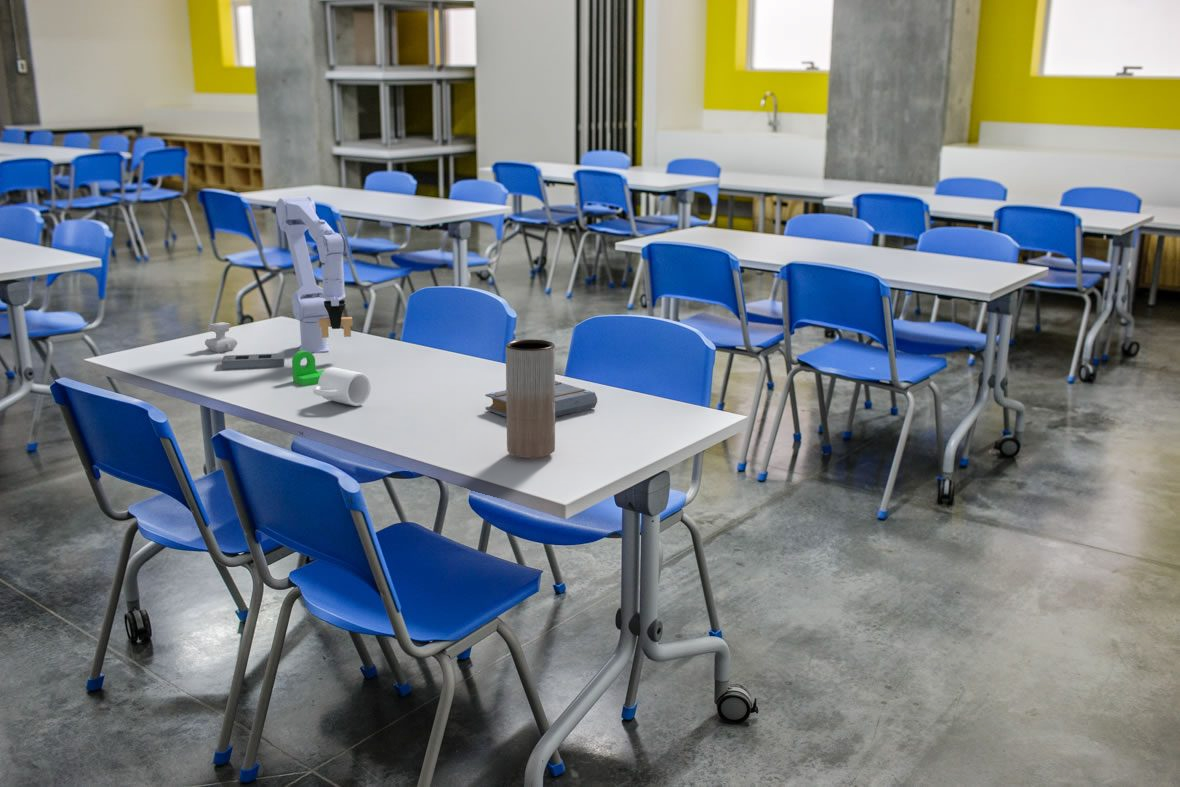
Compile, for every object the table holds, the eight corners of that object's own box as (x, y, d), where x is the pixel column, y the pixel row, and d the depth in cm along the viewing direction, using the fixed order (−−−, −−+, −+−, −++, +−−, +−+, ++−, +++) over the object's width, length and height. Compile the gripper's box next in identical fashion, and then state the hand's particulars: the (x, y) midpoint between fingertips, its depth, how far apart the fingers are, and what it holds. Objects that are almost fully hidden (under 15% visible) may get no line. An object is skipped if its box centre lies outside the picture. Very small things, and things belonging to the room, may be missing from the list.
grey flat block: (224, 364, 304) (223, 355, 304) (284, 361, 308) (284, 353, 307) (222, 370, 298) (221, 361, 297) (284, 367, 301) (283, 358, 301)
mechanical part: (303, 386, 283) (301, 355, 280) (293, 382, 287) (291, 351, 285) (346, 379, 290) (344, 349, 288) (335, 375, 294) (333, 345, 292)
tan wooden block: (319, 335, 306) (318, 318, 305) (352, 334, 309) (351, 316, 307) (319, 337, 304) (318, 319, 303) (353, 336, 306) (352, 318, 305)
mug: (343, 395, 273) (341, 364, 271) (371, 402, 268) (370, 370, 266) (305, 406, 264) (303, 373, 262) (334, 412, 258) (332, 379, 256)
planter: (516, 441, 237) (515, 337, 231) (561, 446, 234) (561, 341, 229) (499, 455, 228) (498, 347, 222) (545, 460, 225) (545, 351, 219)
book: (527, 426, 251) (527, 404, 249) (484, 410, 262) (484, 390, 261) (597, 410, 264) (597, 389, 263) (553, 396, 276) (553, 376, 275)
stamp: (203, 351, 320) (200, 323, 318) (223, 348, 325) (221, 319, 323) (219, 356, 314) (217, 327, 312) (240, 352, 319) (238, 324, 317)
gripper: (317, 274, 308) (320, 322, 311) (318, 283, 294) (321, 333, 298) (343, 274, 310) (345, 321, 313) (345, 282, 296) (348, 332, 300)
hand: (335, 327), depth 306 cm, fingers closed on tan wooden block, 3 cm apart
